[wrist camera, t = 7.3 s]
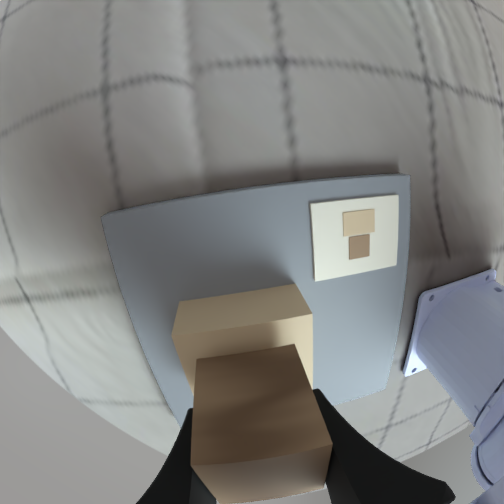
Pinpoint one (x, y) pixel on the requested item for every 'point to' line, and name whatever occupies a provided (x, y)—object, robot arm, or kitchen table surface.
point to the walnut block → (257, 427)
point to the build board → (269, 279)
